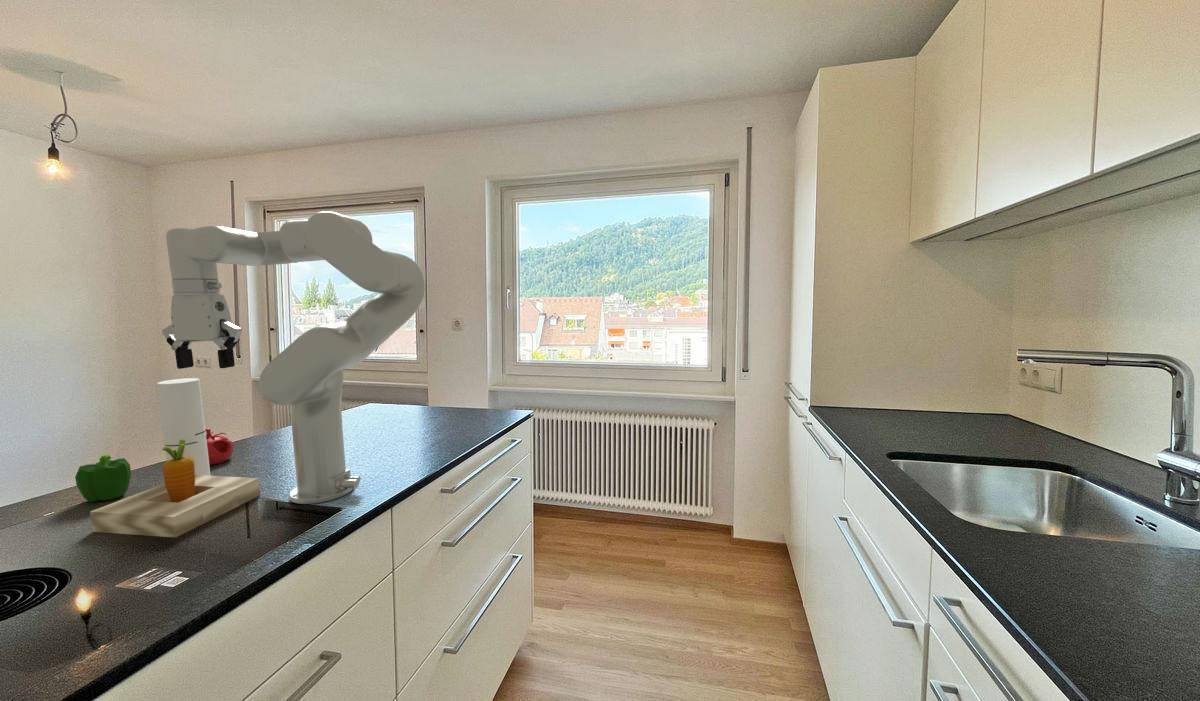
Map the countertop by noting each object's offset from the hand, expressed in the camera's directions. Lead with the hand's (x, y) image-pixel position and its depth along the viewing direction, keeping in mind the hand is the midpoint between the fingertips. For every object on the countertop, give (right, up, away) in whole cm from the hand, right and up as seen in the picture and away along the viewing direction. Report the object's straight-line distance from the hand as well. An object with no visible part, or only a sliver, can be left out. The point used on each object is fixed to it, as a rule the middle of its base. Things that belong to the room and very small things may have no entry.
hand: (206, 367), depth 99 cm
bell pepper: (-23, -29, +2) cm, 37 cm away
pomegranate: (-19, -27, +23) cm, 40 cm away
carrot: (0, -30, -5) cm, 30 cm away
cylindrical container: (-10, -28, +8) cm, 31 cm away
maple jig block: (0, -30, -5) cm, 30 cm away
